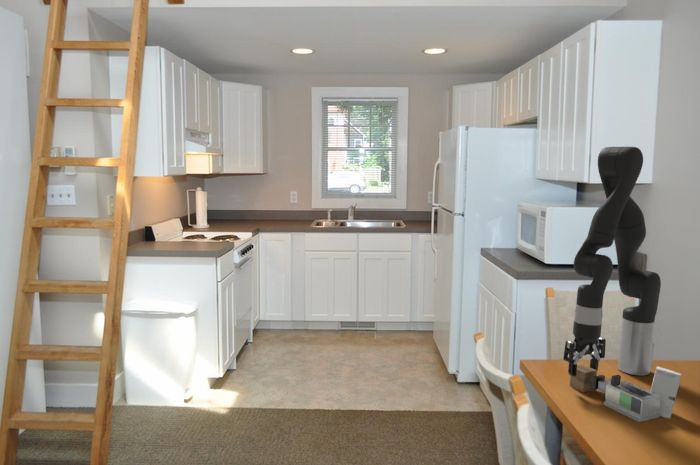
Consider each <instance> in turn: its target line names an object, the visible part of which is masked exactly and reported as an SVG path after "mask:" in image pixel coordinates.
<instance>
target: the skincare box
mask: <svg viewBox="0 0 700 465" xmlns="http://www.w3.org/2000/svg"><path fill="white" fill-rule="evenodd" d="M681 378H682V373H681V372H678V371H674V370H671V369H667V368H664V367H661V366H658V365H657V366H656V367H655V371H654V376H653V379H652V383H651V387H650V390H649V391H650V392H653V393H655V394H658V395H660V406H659V413H660V417H662V418H666V419H671V417H672V414H673V409H674V406H675V403H676V402H675V401H676V397H677V394H678V390H679V387H680V384H681V380H682V379H681Z"/></svg>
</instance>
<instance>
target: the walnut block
mask: <svg viewBox="0 0 700 465" xmlns="http://www.w3.org/2000/svg"><path fill="white" fill-rule="evenodd" d="M594 376H598V370H595V369H593V368H590V366H587V365H585V364H580V365H579V364H578V365H577V372H576V376H571V375H570V378H569V379H570V381H569V387H571V388H573V389H576V390H578V391H580V392H582V393H585V392H592V391H595V390H594V389H592V387H593V377H594Z"/></svg>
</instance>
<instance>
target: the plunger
mask: <svg viewBox="0 0 700 465" xmlns="http://www.w3.org/2000/svg"><path fill="white" fill-rule="evenodd" d="M611 380H612V377H611V378H607V379H606V375H604V374H600V375H597V376H594V377H593V387H592V389H594V390H593V391H596V390H597V391H598V392H601V393H603V394H604V395H606V386H607V384H611ZM618 387H621V386H620V385H618ZM621 388H623V387H621ZM623 389H625V388H623ZM625 390H627V391H630V390H628V389H625Z"/></svg>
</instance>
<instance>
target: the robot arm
mask: <svg viewBox="0 0 700 465" xmlns="http://www.w3.org/2000/svg"><path fill="white" fill-rule="evenodd" d="M643 165H644V155H643V152H642V151H641V149H640V148H638V147H637V146H605V147H603V148H602V149H601V150H600V151H599V153H598V155H597V169H598V173H599V177H600V181H601V185H602V188H603V191H604V195H605V198H606V200H604V201H603V203H602V204H601V205H600V206H599V207H598V208H597V210H596V211H595V212H594V214H593V217H592V220H591V222H590V226H589V231H588V233H587V236H586V238H585V240H584V242H583V243H582V245H581V247H580V248H579V250H578V251H577V253H576V254H575V257H574V260H573V269H574V271H575V272H576V274H577V275H579V276H581V277H582V276H583V277H588V278H592V280H591V283H589V284H586V283H585V284H580V285H579V286H578V287H577V293H576V305H575V309H574V315H573V325H572V326H573V327H572V335H573V336H574V340H573V341H569V340H566V341H565V344H564V351H563V359H562V360H563V361H564V362H567V363H568V367H567V368H568V369H567V372H568V375H569V376H570V377H571V376H576V372H577V366H578V362H579V361H580V359H582V358H583V357H584V356H588V355H589V356H590V361H589V367H590V368H593V369H595V370H597V371H598V370H599V361H600V360H601V359H604V358H605V357H606V345H607V344H606V341H607V340H606V339H605V338H603V337H602V336H601V333H602V323H603V304H604V294H605V291H606V288H607V285H608V283H609V281H610V279H611V276H612V273H613V271H614V263H613V261H612V259H611V257H609V256H608V255H605V254H601V253H600V254H598V253H597V252H598V251H599V250H600V249H604V248H605V249H606V248H610V247H611V246H613V243H614V246H615V252H616V260H617V262H616V263H617V274H618V275H617V276H618V284H619V290H620V292H621V293H622V294H623V295H624V296H627V297H630V298H634V299H638V300H639V301H640V302H639V304H638V305H636V306H630V307H625V308H623V310H622V316H621V318H622V319H621V326H620V327H621V330H620V340H619V350H618V361H617V362H618V363H617V364H618V365H617V369H618V370H619V371H621V372H623V373H626V374H629V375H634V376H648V375H650V373H652V370H653V369H652V368H653V359H654V358H653V357H654V348H655V344H654V342H653V341H654V333H655V332H654V331H655V320H656V315H657V312H658V306H659V300H660V293H661V285H662V281H661V277H660V274H658V273H657V272H655V271H649V270H643V269H638V268H636V265H635V256H636V253H637V252H638V250H639V248H640V247H641V246H642V244H643V242H644V240H645V239H646V235H647V229H646V221H645V217H644V213H643V211H642V209H641V208H640V207H639V205H638V204H637V203H636V201H635V200H634V199H633V198H632V196H631V194H632V192H633V189H634V187H635V186H636V184H637V181H638V178H639V177H640V174H641V172H642V168H643Z"/></svg>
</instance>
